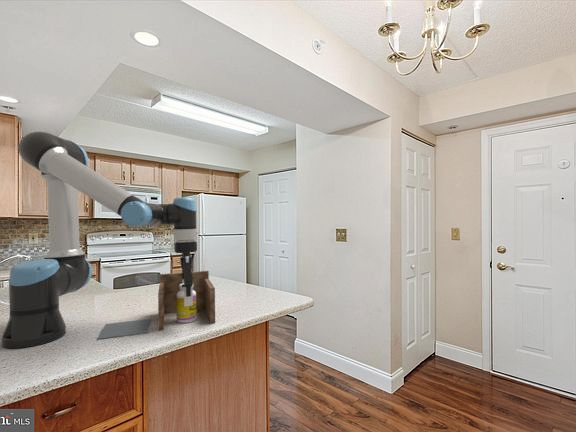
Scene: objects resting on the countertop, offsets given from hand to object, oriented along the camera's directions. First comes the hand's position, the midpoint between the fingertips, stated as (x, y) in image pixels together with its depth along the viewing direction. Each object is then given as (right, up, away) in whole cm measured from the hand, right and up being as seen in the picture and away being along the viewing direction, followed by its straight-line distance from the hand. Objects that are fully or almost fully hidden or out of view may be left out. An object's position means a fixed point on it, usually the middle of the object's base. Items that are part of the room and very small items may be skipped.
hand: (187, 301), depth 109 cm
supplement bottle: (0, -7, 0) cm, 7 cm away
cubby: (-1, -7, +2) cm, 7 cm away
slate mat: (-18, -7, -8) cm, 20 cm away
